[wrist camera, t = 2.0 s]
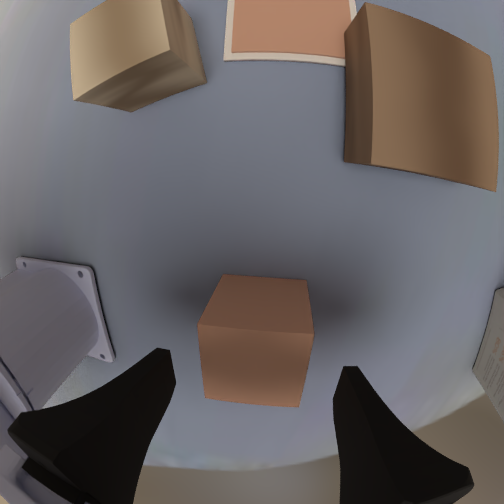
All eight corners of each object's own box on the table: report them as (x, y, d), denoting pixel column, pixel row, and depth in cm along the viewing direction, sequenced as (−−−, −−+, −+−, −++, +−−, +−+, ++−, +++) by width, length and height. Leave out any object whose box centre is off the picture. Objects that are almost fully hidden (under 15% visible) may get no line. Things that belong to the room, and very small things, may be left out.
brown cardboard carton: (343, 162, 12) (371, 163, 9) (343, 33, 10) (365, 2, 6) (455, 182, 12) (495, 191, 8) (453, 68, 9) (490, 56, 6)
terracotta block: (224, 339, 16) (205, 398, 12) (223, 273, 15) (197, 323, 10) (297, 345, 16) (298, 407, 11) (306, 279, 15) (314, 334, 10)
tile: (224, 61, 11) (222, 58, 11) (231, -28, 9) (230, -31, 9) (360, 69, 11) (362, 67, 10) (350, -22, 8) (351, -25, 8)
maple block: (131, 112, 13) (73, 100, 8) (122, 50, 11) (70, 24, 7) (207, 83, 12) (169, 49, 7) (192, 19, 10) (156, -25, 6)
